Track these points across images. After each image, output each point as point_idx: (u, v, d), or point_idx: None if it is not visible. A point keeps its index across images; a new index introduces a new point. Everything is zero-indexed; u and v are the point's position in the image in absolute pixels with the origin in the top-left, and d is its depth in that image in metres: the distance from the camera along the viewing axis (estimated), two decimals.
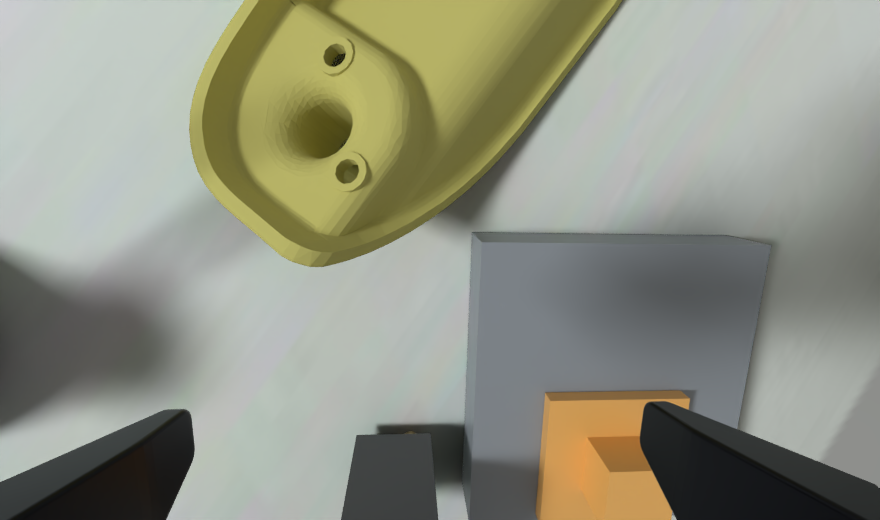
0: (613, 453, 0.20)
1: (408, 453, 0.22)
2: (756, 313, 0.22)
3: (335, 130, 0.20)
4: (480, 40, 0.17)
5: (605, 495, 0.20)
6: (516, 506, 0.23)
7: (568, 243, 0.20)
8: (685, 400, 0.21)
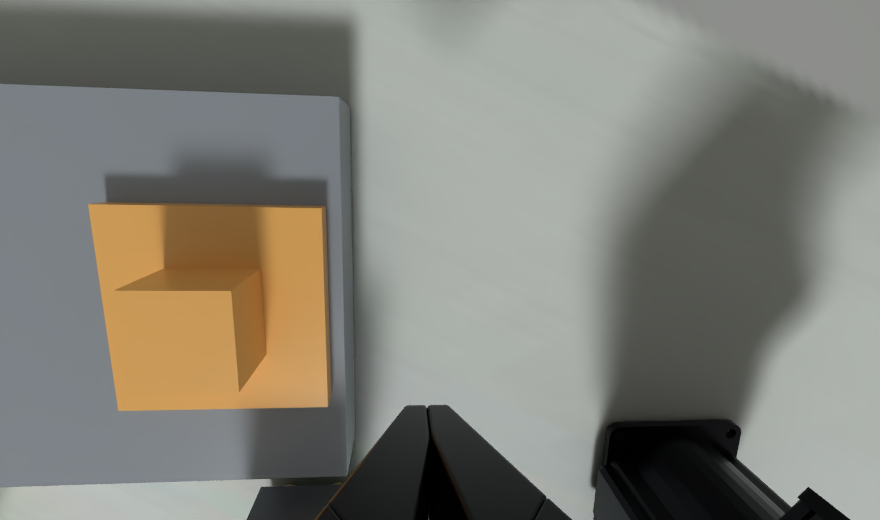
0: None
1: None
2: None
3: None
4: None
5: (180, 390, 0.12)
6: (321, 419, 0.17)
7: None
8: (92, 211, 0.13)
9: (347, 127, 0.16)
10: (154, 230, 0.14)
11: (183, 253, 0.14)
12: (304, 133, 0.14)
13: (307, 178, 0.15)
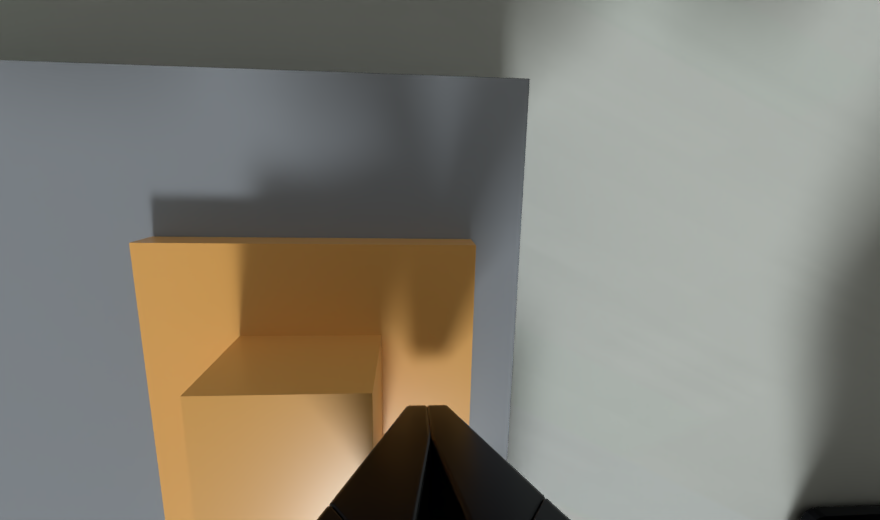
0: None
1: None
2: None
3: None
4: None
5: None
6: None
7: None
8: (136, 253, 0.09)
9: None
10: (227, 280, 0.09)
11: (269, 314, 0.09)
12: (475, 133, 0.10)
13: (475, 199, 0.10)
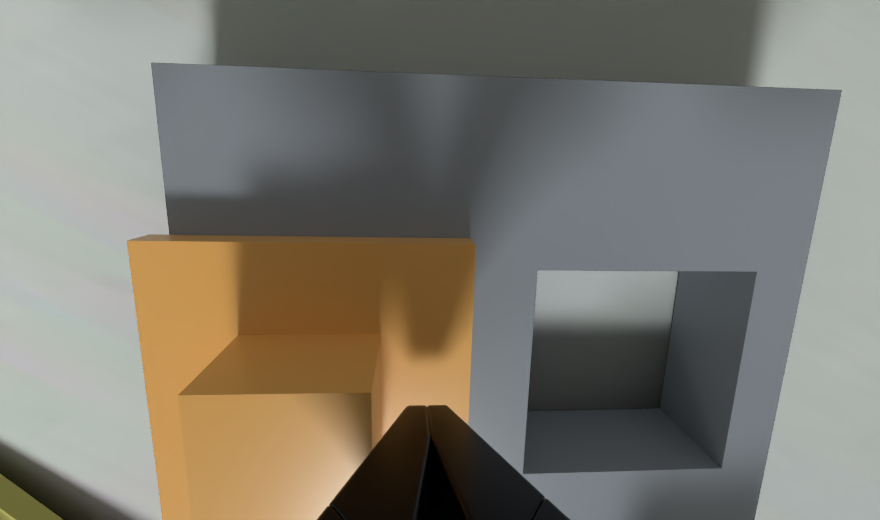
0: None
1: None
2: (327, 70, 0.09)
3: None
4: None
5: None
6: None
7: None
8: (134, 251, 0.09)
9: None
10: (226, 279, 0.09)
11: (268, 312, 0.09)
12: (785, 142, 0.10)
13: (775, 204, 0.10)
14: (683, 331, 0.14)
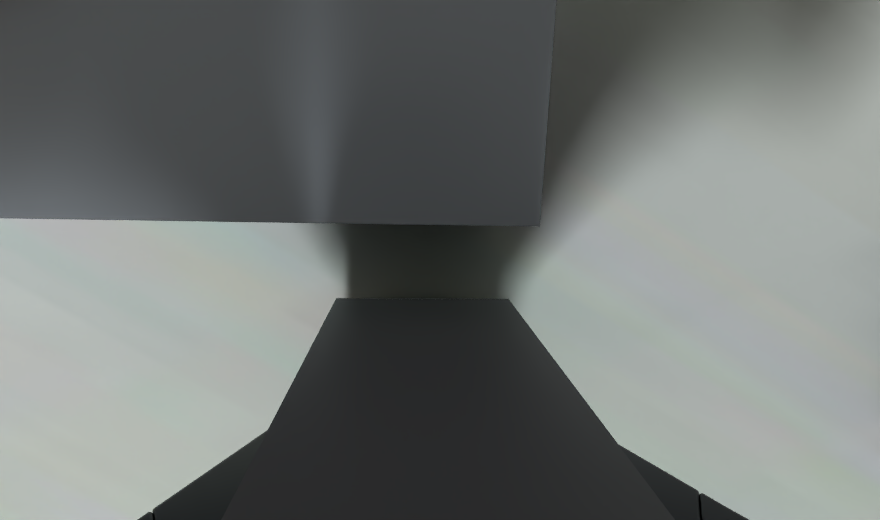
0: None
1: None
2: None
3: None
4: None
5: None
6: (496, 80, 0.07)
7: None
8: None
9: None
10: None
11: None
12: None
13: None
14: None
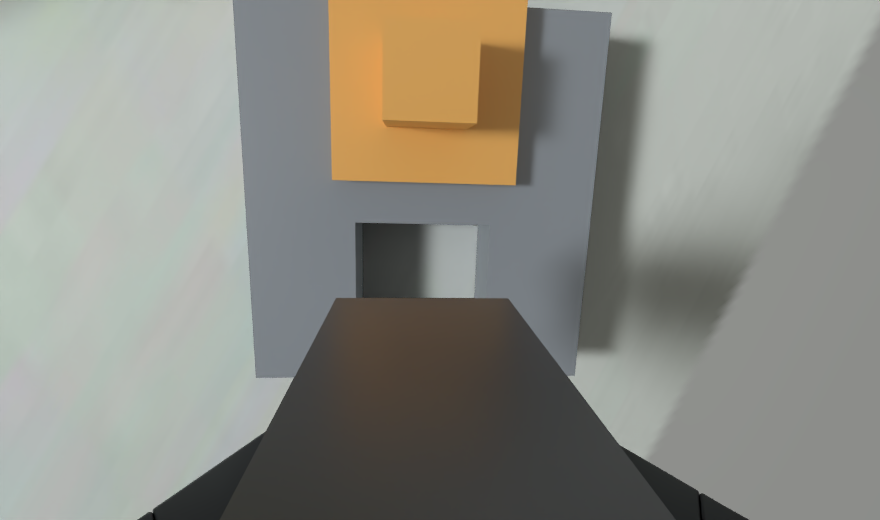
0: None
1: None
2: (600, 109, 0.18)
3: None
4: None
5: (382, 63, 0.14)
6: None
7: None
8: None
9: None
10: (503, 40, 0.16)
11: (482, 63, 0.16)
12: (551, 352, 0.20)
13: None
14: None
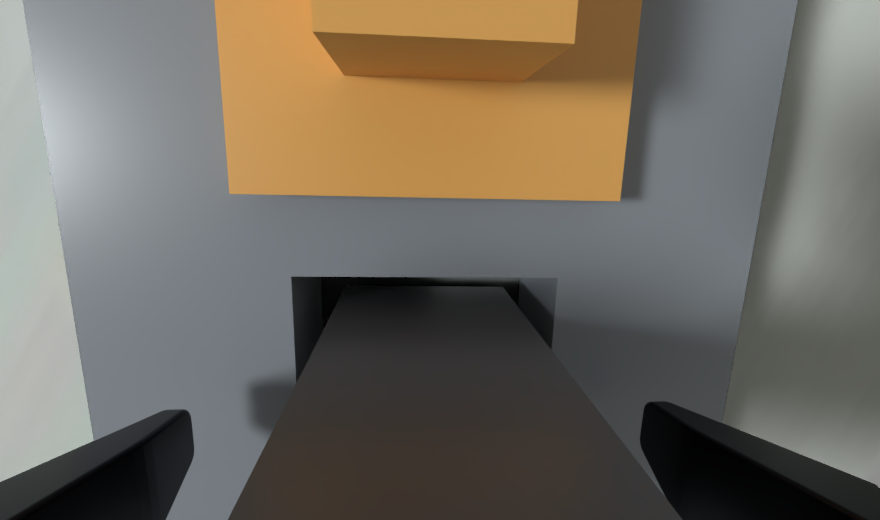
0: None
1: None
2: (784, 44, 0.09)
3: None
4: None
5: None
6: None
7: None
8: None
9: None
10: None
11: None
12: None
13: None
14: None
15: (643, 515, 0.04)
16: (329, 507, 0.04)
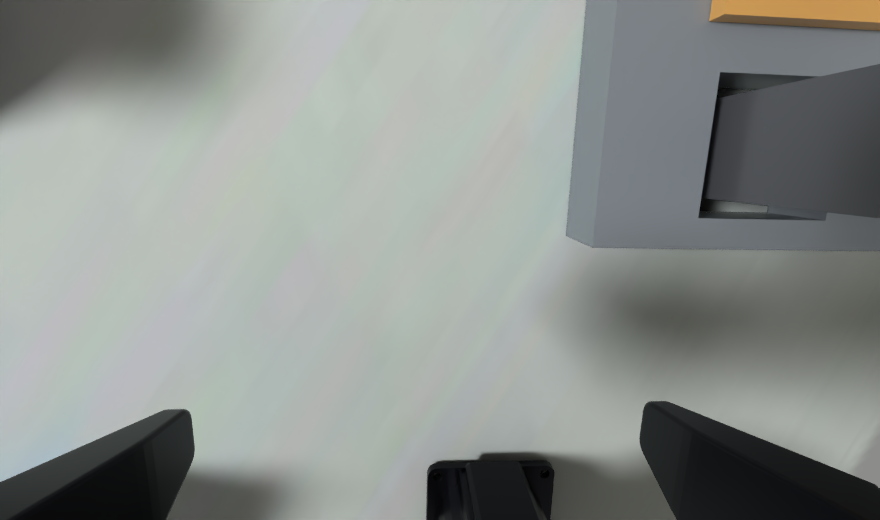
0: None
1: (725, 128, 0.17)
2: None
3: None
4: None
5: None
6: (654, 225, 0.18)
7: None
8: None
9: None
10: None
11: None
12: None
13: (861, 225, 0.18)
14: (726, 213, 0.20)
15: None
16: None
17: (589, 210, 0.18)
